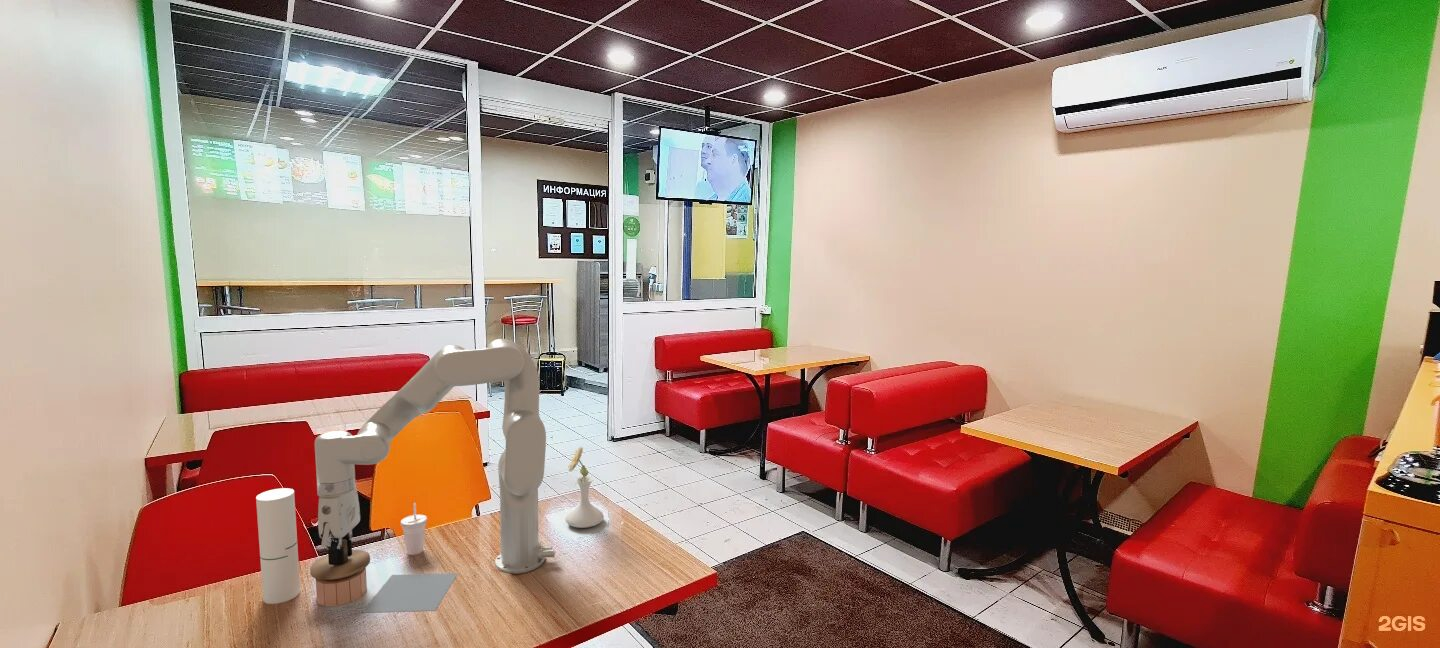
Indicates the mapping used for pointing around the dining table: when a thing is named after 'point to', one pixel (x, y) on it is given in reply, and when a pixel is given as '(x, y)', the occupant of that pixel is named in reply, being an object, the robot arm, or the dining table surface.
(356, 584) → the bowl
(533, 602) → the dining table surface
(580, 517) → the flower in vase
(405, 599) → the mat
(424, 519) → the smoothie
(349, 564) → the lid
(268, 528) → the cylindrical container
